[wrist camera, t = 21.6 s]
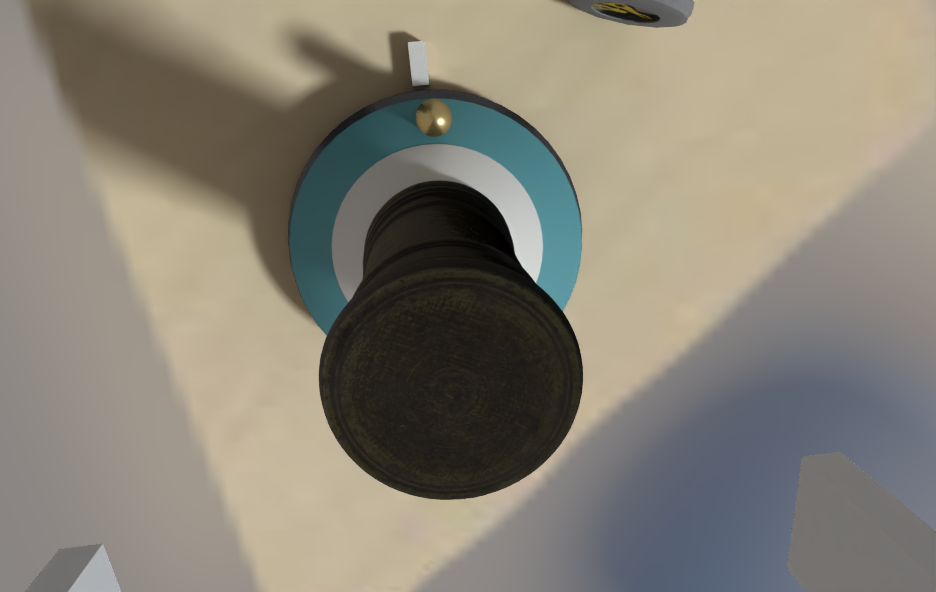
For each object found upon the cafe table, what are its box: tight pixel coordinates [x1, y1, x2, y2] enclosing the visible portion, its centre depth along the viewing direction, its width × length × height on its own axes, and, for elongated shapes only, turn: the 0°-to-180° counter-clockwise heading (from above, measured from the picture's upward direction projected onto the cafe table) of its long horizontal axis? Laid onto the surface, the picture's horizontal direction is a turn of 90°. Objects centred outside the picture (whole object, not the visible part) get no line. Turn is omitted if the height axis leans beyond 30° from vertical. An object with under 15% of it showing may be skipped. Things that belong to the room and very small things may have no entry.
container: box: [319, 180, 583, 500], centre depth 26 cm, size 9×9×18 cm
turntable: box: [290, 98, 582, 335], centre depth 33 cm, size 18×18×6 cm
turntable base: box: [288, 41, 582, 268], centre depth 36 cm, size 22×19×2 cm
